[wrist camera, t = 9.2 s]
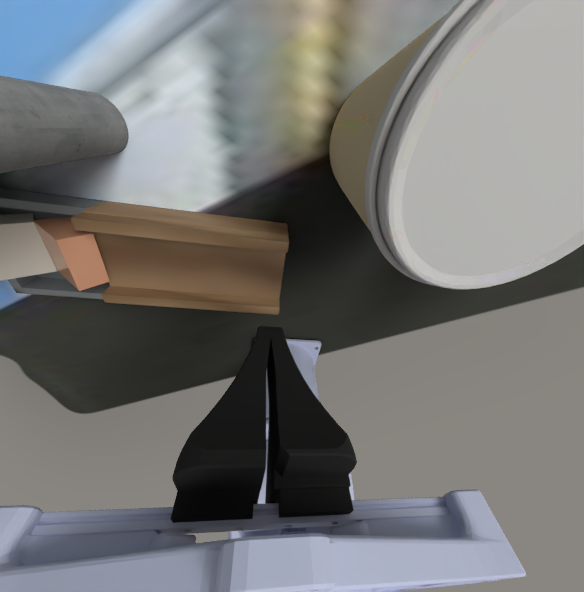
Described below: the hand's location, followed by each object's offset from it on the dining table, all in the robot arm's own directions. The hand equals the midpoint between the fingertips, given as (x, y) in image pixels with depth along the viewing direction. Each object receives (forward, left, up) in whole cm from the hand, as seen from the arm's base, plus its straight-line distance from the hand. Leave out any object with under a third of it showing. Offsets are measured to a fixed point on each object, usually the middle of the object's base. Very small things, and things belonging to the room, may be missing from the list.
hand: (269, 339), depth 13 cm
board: (0, +6, -10) cm, 12 cm away
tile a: (0, +14, -8) cm, 16 cm away
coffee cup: (+10, -7, -10) cm, 16 cm away
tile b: (0, +19, -7) cm, 20 cm away
